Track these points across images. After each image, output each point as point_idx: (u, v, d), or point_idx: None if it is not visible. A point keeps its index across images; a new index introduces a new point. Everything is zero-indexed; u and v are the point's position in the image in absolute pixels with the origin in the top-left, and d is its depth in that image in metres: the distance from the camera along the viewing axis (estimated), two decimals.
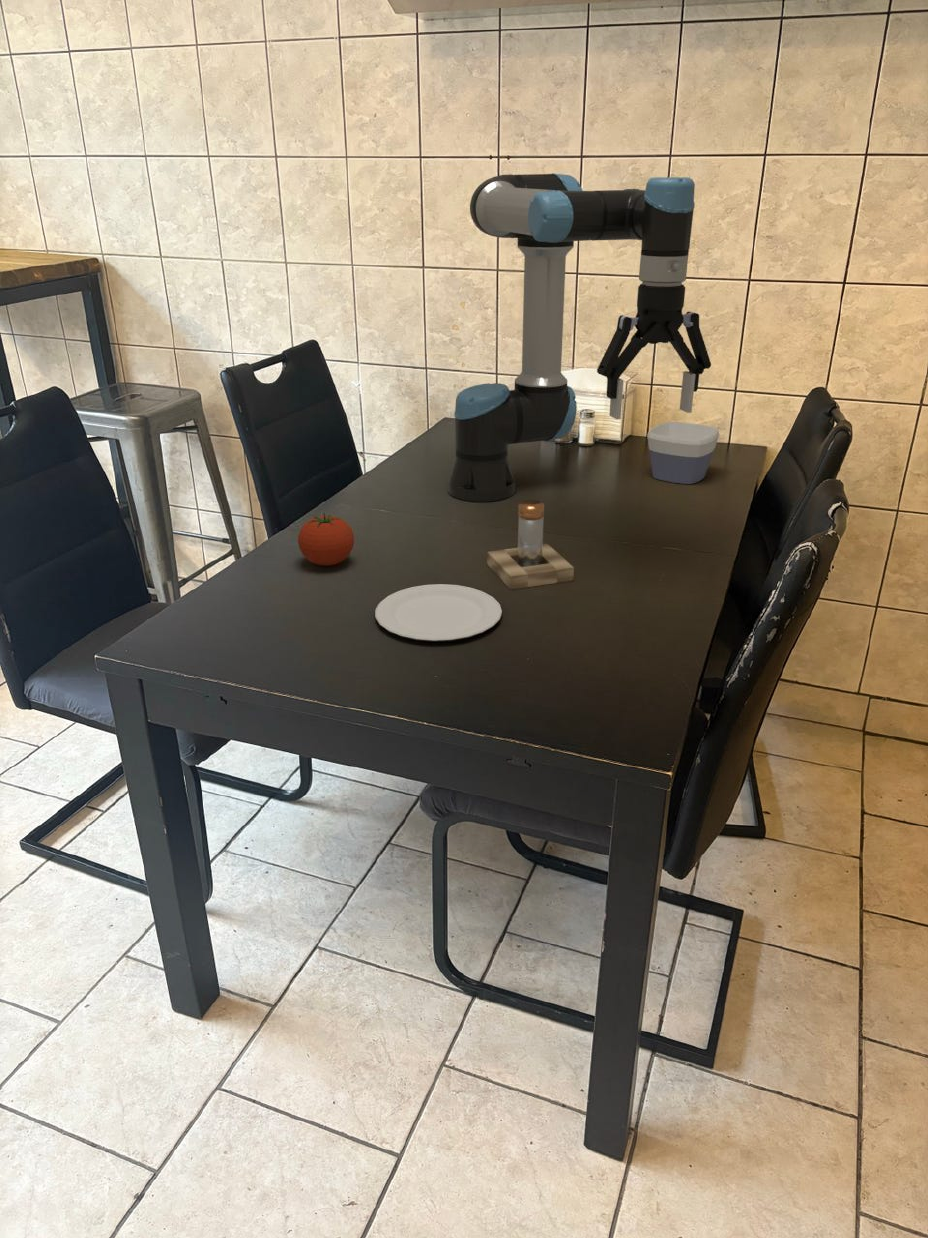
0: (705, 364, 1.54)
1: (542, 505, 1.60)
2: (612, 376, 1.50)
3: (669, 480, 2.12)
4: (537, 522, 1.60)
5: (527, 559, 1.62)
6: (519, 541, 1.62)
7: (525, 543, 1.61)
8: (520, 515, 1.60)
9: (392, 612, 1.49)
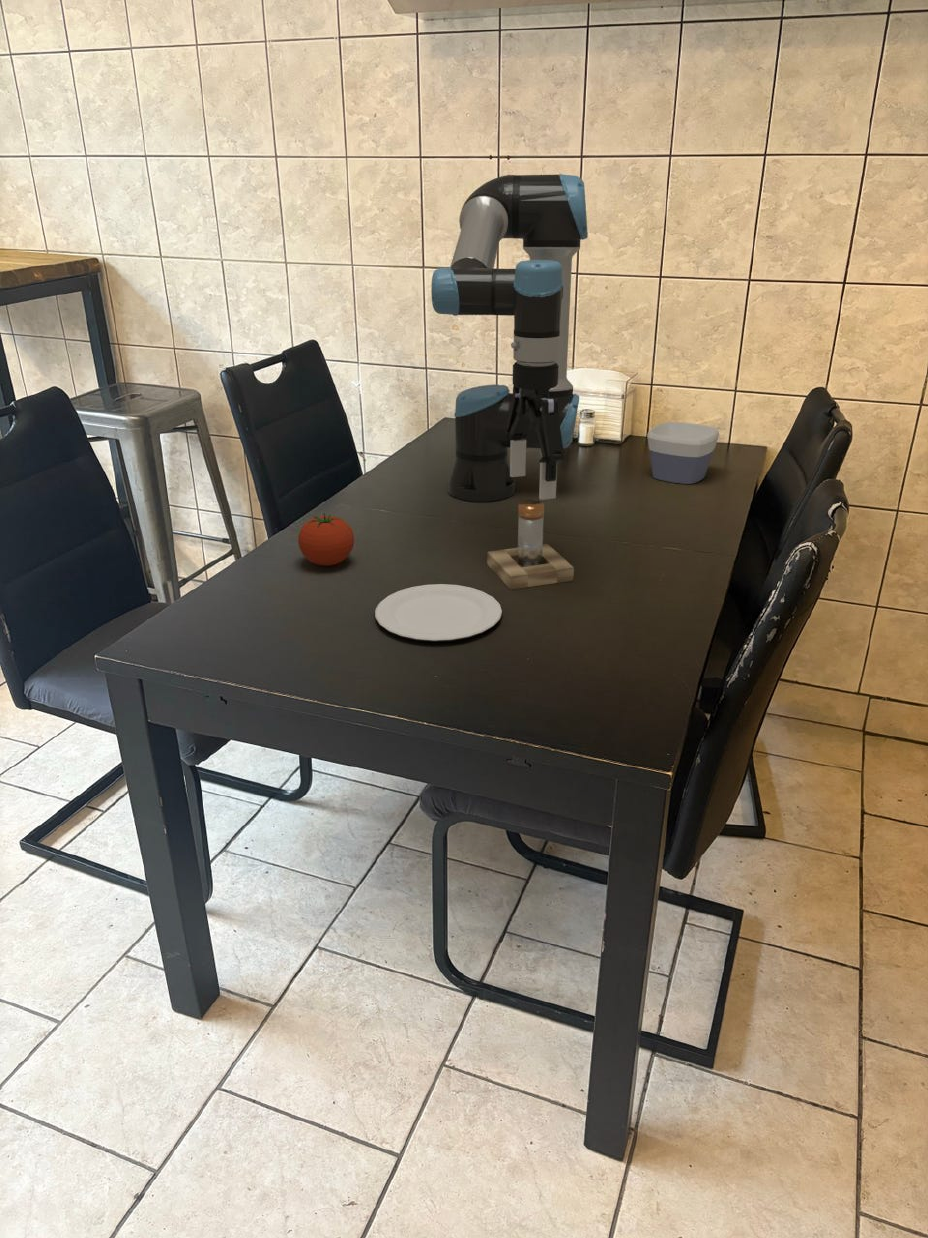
0: (547, 455, 1.47)
1: (542, 505, 1.60)
2: None
3: (669, 480, 2.12)
4: (537, 522, 1.60)
5: (527, 559, 1.62)
6: (519, 541, 1.62)
7: (525, 543, 1.61)
8: (520, 515, 1.60)
9: (392, 612, 1.49)
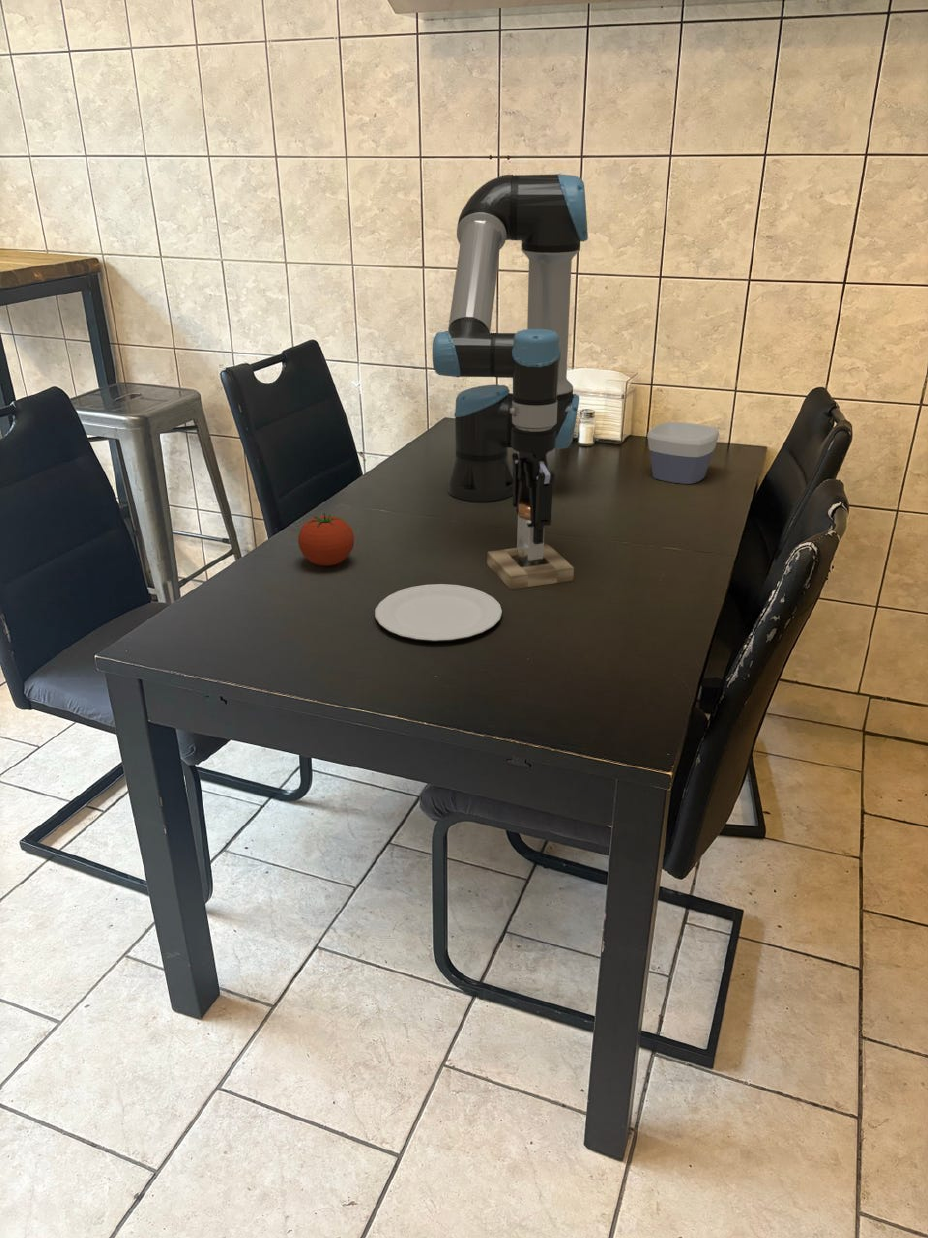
0: (535, 520, 1.56)
1: None
2: None
3: (669, 480, 2.12)
4: None
5: (527, 559, 1.62)
6: (519, 541, 1.62)
7: (525, 543, 1.61)
8: (520, 515, 1.60)
9: (392, 612, 1.49)
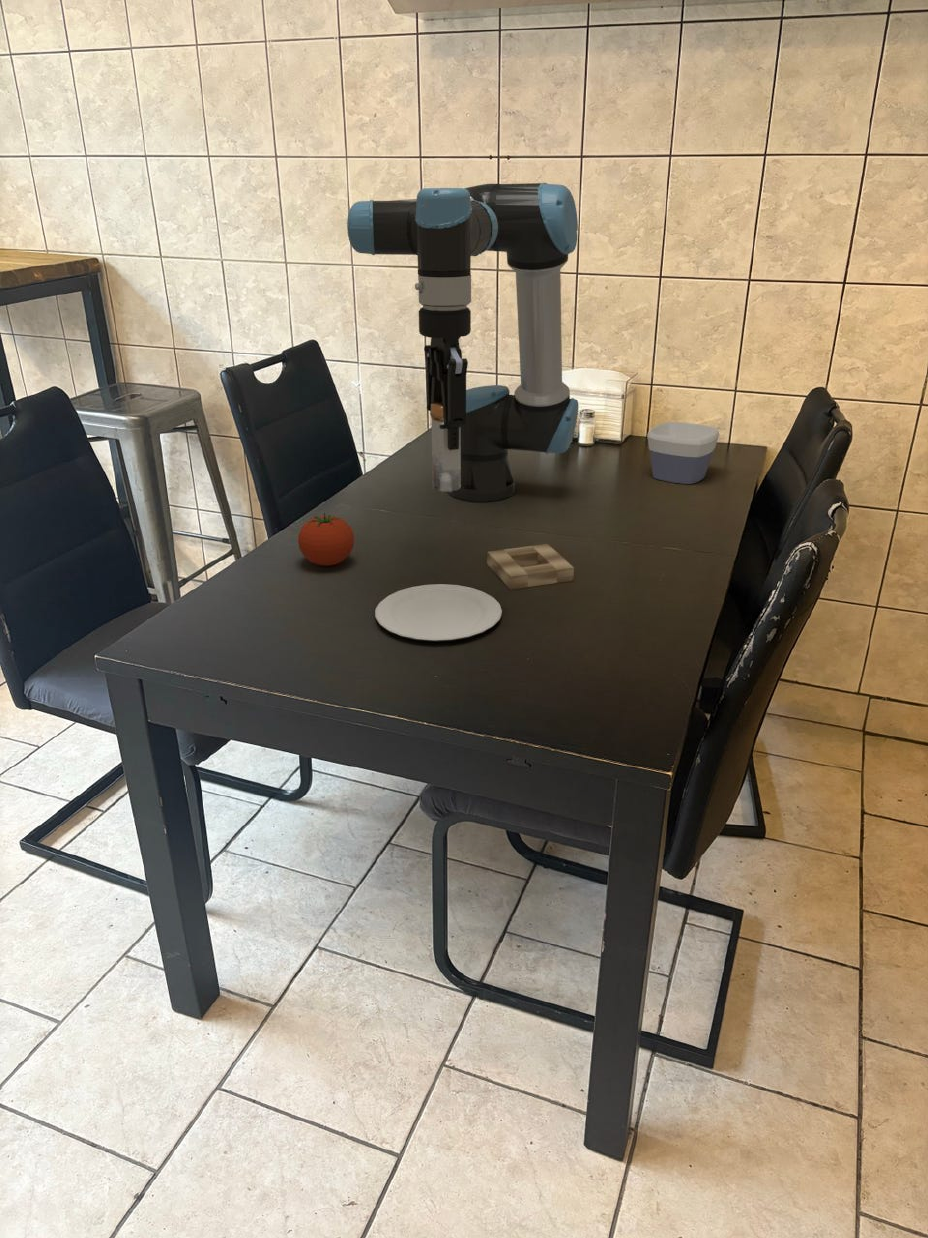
0: (448, 419, 1.33)
1: None
2: None
3: (669, 480, 2.12)
4: None
5: (443, 470, 1.39)
6: (433, 448, 1.39)
7: (439, 450, 1.38)
8: (432, 416, 1.37)
9: (392, 612, 1.49)
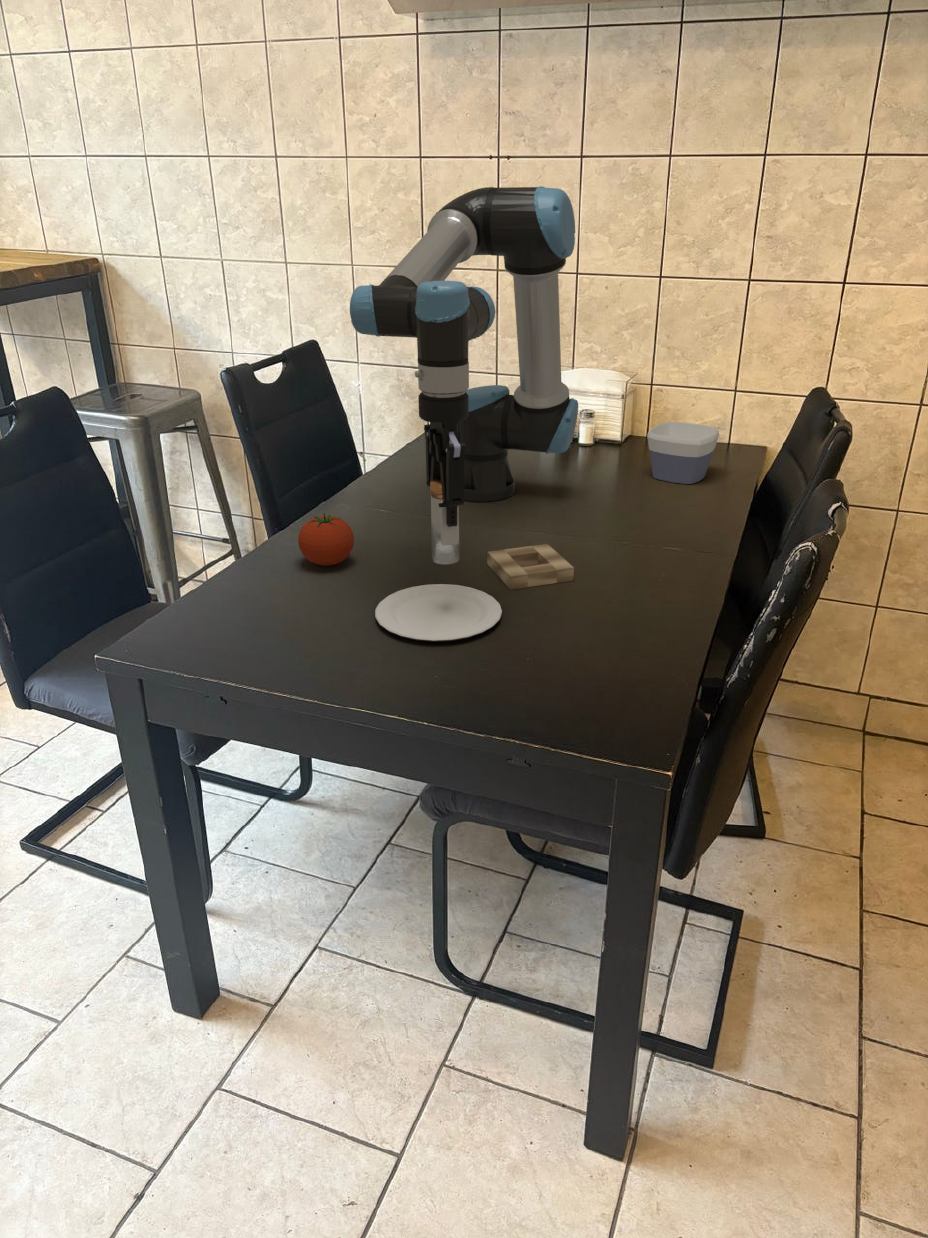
0: (446, 499, 1.38)
1: None
2: None
3: (669, 480, 2.12)
4: None
5: (441, 544, 1.44)
6: (432, 524, 1.44)
7: (438, 526, 1.43)
8: (432, 494, 1.42)
9: (392, 612, 1.49)
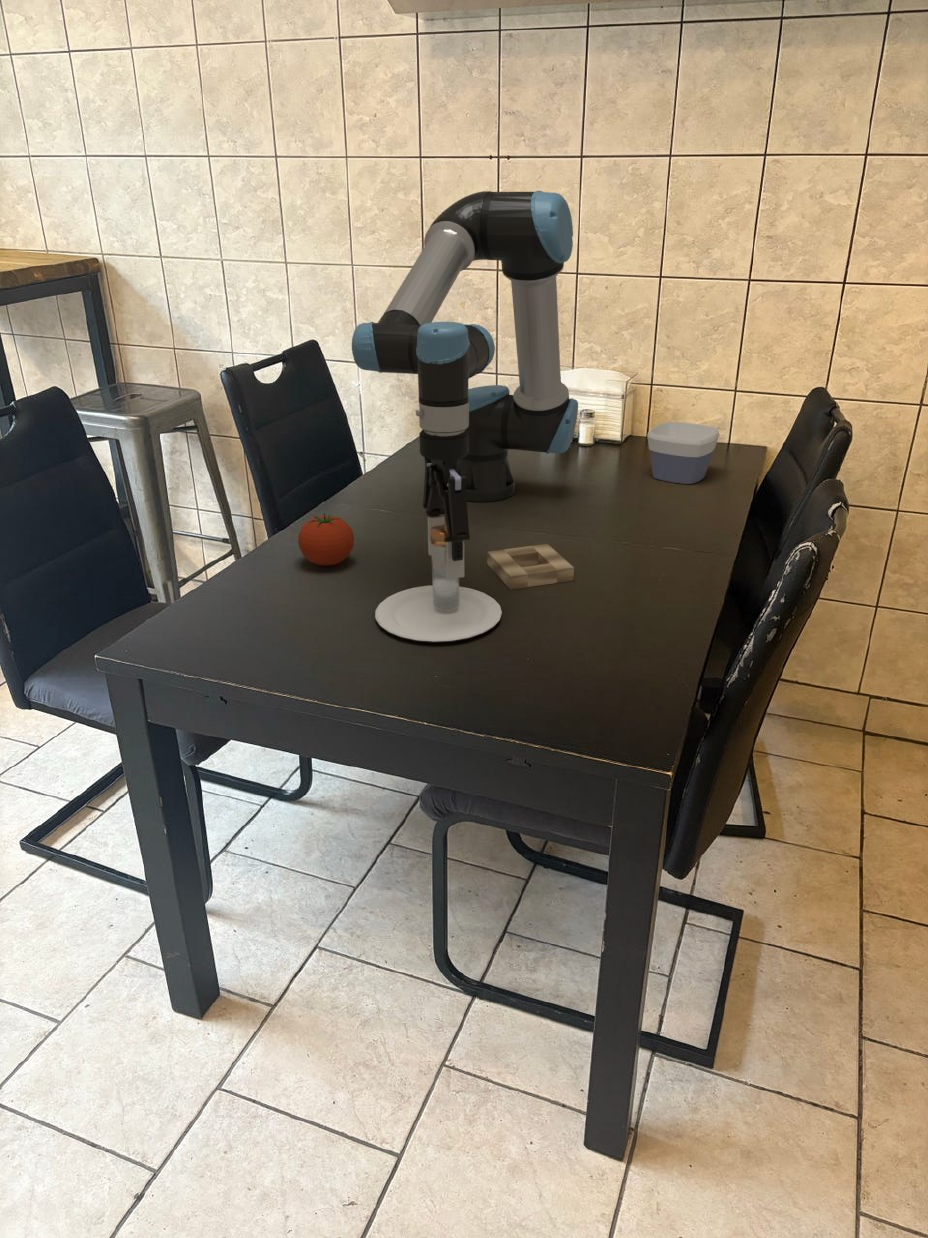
0: (452, 535, 1.38)
1: None
2: None
3: (669, 480, 2.12)
4: None
5: (442, 589, 1.48)
6: (432, 570, 1.48)
7: (438, 572, 1.47)
8: (432, 541, 1.46)
9: (392, 613, 1.49)
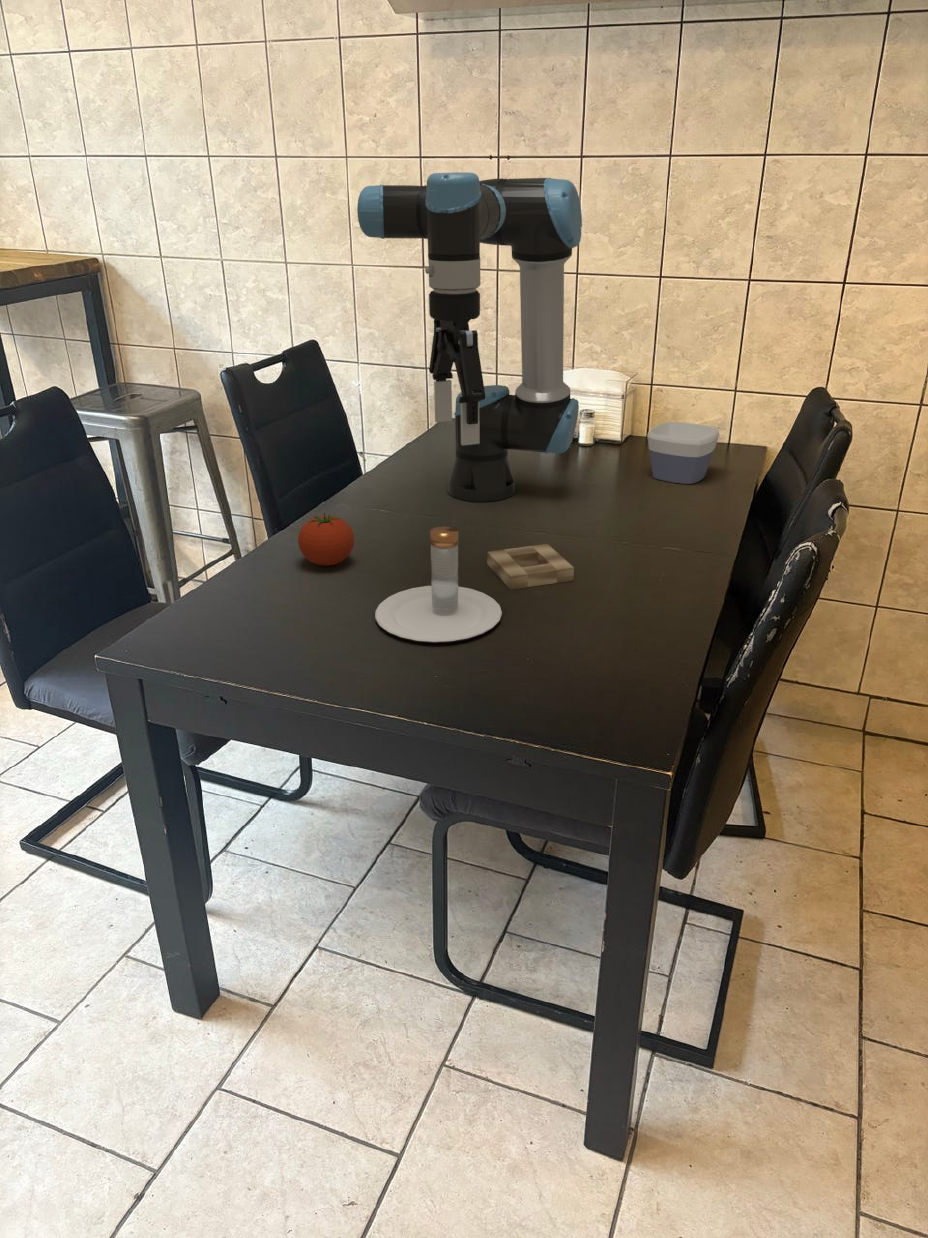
0: (466, 395, 1.31)
1: (456, 532, 1.45)
2: None
3: (669, 480, 2.12)
4: (450, 551, 1.45)
5: (441, 591, 1.48)
6: (432, 571, 1.48)
7: (438, 574, 1.46)
8: (431, 543, 1.45)
9: (392, 613, 1.49)
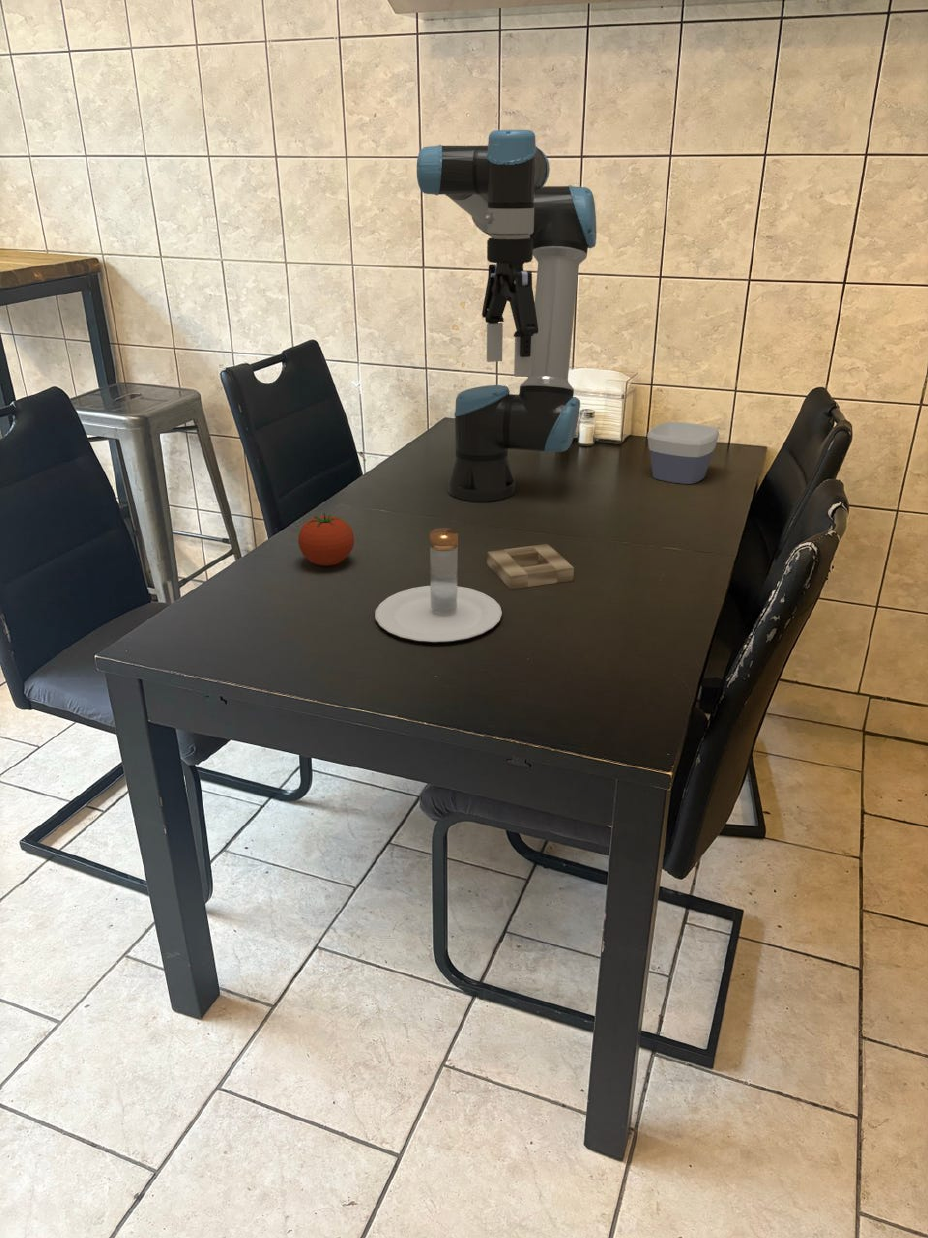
0: (521, 328, 1.47)
1: (455, 535, 1.44)
2: None
3: (669, 480, 2.12)
4: (449, 554, 1.44)
5: (439, 593, 1.47)
6: (431, 573, 1.47)
7: (436, 576, 1.46)
8: (431, 545, 1.44)
9: (392, 613, 1.49)
